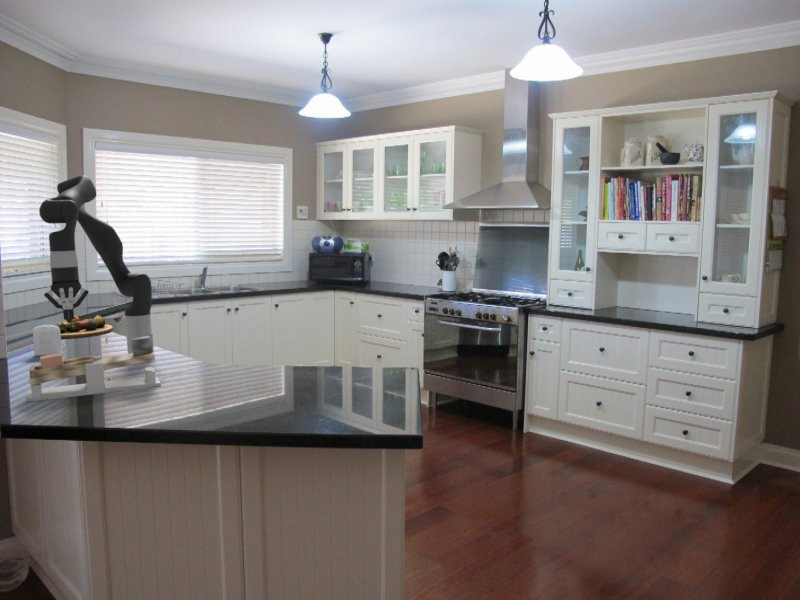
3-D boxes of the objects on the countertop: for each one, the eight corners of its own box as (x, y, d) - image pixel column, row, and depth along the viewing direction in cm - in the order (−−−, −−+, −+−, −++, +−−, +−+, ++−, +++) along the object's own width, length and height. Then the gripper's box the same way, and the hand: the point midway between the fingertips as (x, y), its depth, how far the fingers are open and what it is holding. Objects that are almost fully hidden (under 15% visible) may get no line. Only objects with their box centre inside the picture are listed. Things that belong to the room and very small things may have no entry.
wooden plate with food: (48, 331, 338) (46, 314, 337) (116, 326, 347) (115, 310, 346) (34, 341, 307) (32, 323, 306) (109, 336, 317) (108, 319, 316)
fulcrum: (156, 378, 227) (154, 350, 226) (160, 385, 217) (158, 357, 215) (29, 393, 211) (26, 363, 210) (26, 402, 200) (23, 371, 199)
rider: (65, 367, 211) (61, 352, 211) (64, 370, 207) (61, 355, 206) (43, 372, 209) (40, 356, 208) (43, 375, 204) (39, 359, 204)
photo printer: (63, 353, 275) (61, 323, 274) (60, 355, 271) (57, 325, 270) (37, 354, 274) (34, 324, 273) (32, 356, 270) (30, 326, 268)
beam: (152, 355, 225) (148, 334, 223) (155, 359, 217) (151, 338, 215) (32, 379, 210) (27, 357, 209) (30, 385, 202) (25, 363, 201)
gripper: (87, 263, 213) (92, 317, 215) (40, 266, 207) (45, 321, 209) (88, 265, 206) (92, 320, 208) (39, 267, 200) (44, 324, 202)
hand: (69, 321), depth 209 cm, fingers closed
